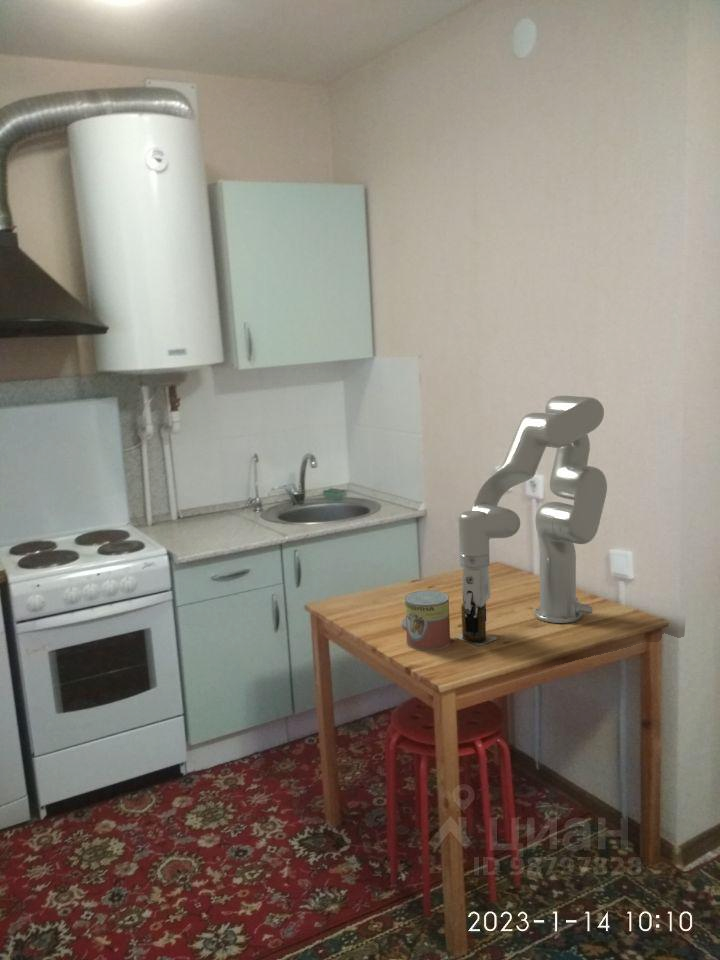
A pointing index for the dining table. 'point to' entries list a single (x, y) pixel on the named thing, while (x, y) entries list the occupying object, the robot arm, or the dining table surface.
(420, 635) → the canned food
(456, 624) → the dining table surface
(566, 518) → the robot arm
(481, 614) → the condiment
